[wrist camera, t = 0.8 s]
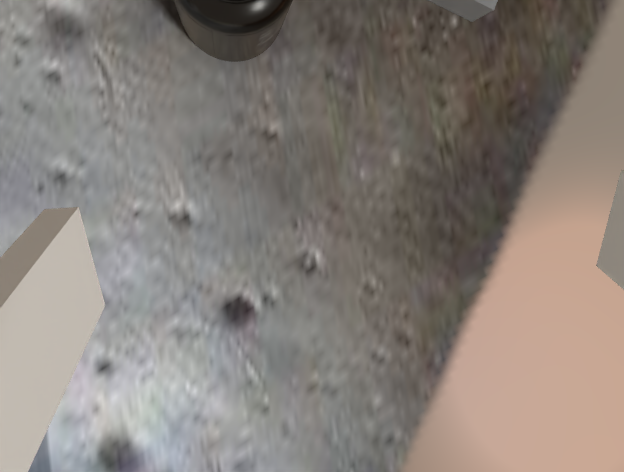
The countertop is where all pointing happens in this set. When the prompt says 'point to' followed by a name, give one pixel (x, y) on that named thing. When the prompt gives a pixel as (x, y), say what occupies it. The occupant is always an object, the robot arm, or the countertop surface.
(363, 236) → the countertop surface
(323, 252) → the countertop surface
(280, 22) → the supplement bottle
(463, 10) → the scale
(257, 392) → the countertop surface
